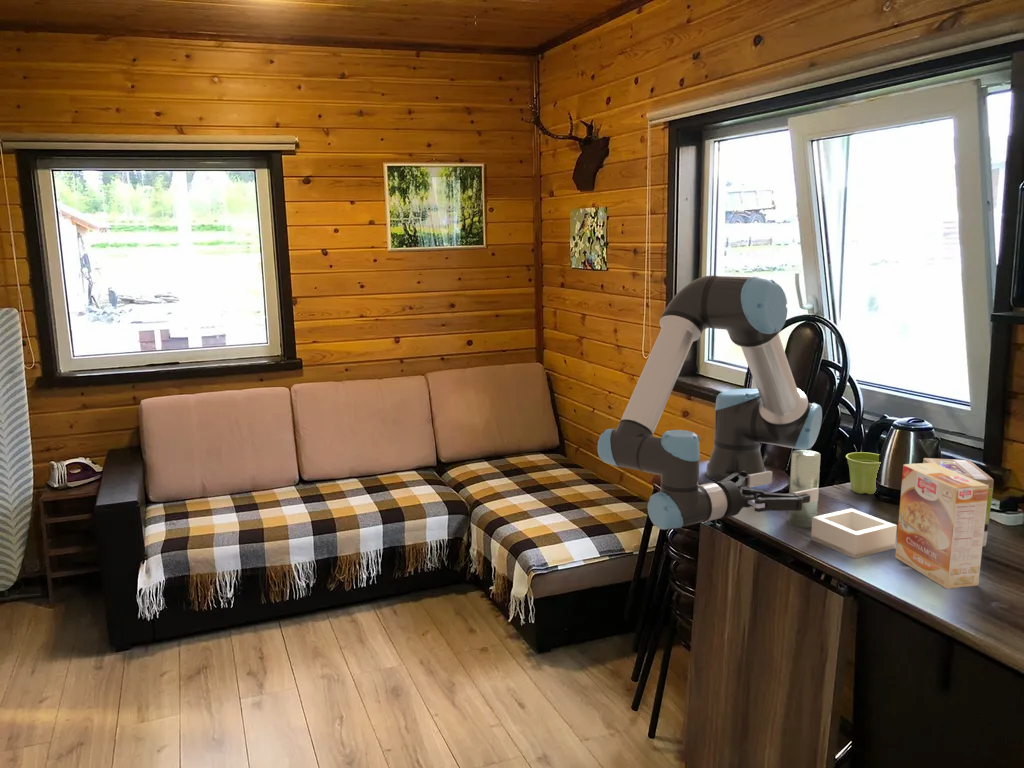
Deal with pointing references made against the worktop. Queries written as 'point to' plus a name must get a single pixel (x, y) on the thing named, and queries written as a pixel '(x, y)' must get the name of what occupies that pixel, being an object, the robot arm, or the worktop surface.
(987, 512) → the tea box
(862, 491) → the plant pot
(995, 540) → the worktop surface
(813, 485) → the canister
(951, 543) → the coffeecake box
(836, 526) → the well
